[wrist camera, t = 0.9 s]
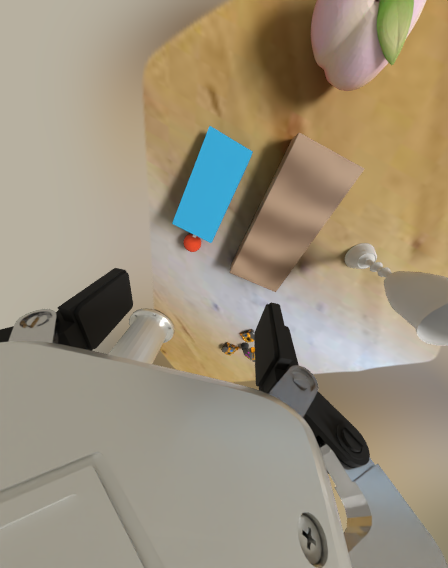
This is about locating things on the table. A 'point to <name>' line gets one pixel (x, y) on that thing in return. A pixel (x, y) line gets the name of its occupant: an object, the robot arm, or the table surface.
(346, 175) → the walnut riser block
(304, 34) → the table surface
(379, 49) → the decorative fruit
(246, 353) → the toy set
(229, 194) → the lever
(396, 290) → the chalice
